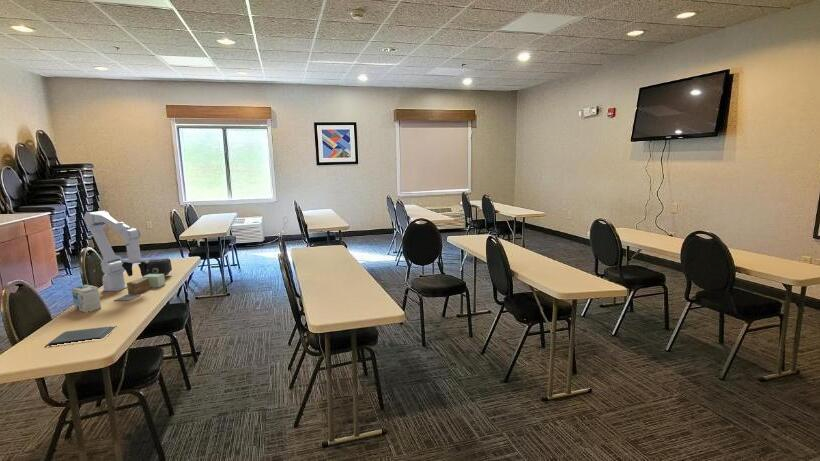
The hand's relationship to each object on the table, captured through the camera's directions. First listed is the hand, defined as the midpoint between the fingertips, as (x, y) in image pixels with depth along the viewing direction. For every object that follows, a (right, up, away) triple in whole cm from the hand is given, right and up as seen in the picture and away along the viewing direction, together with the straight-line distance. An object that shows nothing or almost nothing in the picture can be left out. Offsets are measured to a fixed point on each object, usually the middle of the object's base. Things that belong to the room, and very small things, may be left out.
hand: (137, 275), depth 221 cm
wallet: (+15, -19, -55) cm, 60 cm away
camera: (-6, -4, +28) cm, 29 cm away
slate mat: (+1, -11, -9) cm, 14 cm away
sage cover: (+2, -7, +11) cm, 13 cm away
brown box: (0, -9, +2) cm, 9 cm away
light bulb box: (-8, -14, -23) cm, 28 cm away
